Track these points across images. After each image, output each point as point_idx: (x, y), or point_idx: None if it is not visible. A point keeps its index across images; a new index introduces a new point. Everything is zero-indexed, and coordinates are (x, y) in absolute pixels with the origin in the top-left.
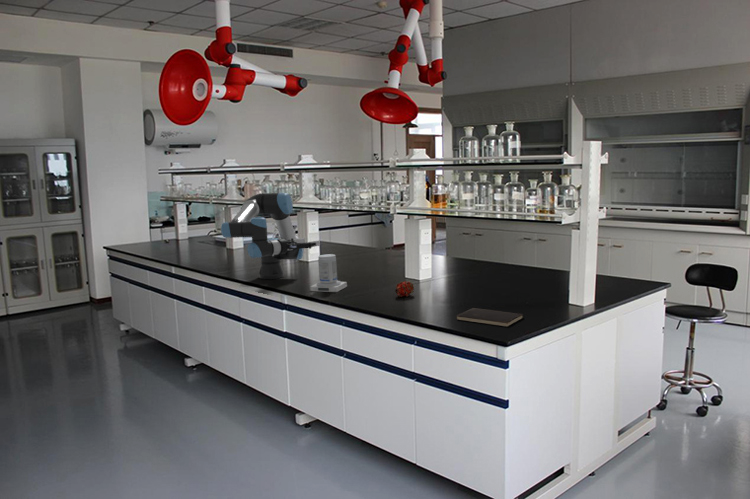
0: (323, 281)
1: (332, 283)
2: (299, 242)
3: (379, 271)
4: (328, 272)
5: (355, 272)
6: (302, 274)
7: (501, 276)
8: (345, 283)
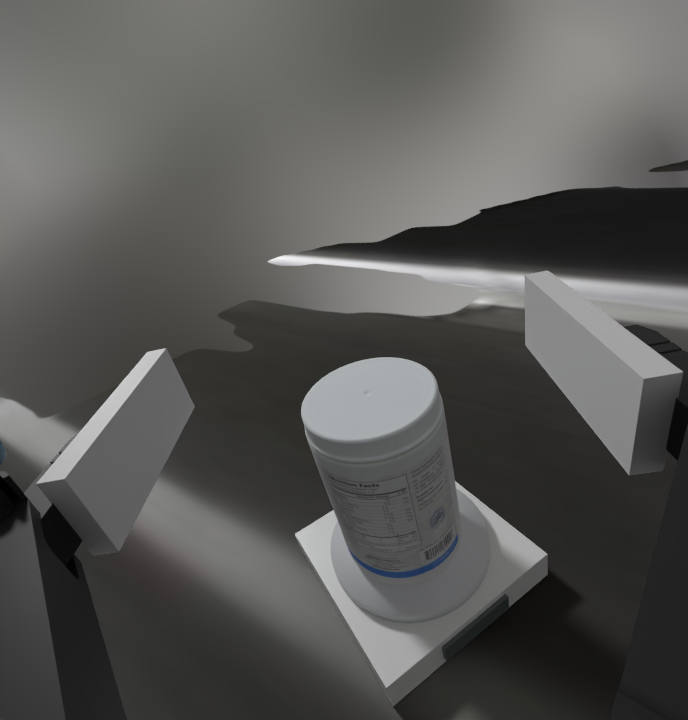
0: (428, 572)
1: None
2: (148, 450)
3: (286, 337)
4: (450, 500)
5: (229, 376)
6: None
7: (561, 224)
8: None
